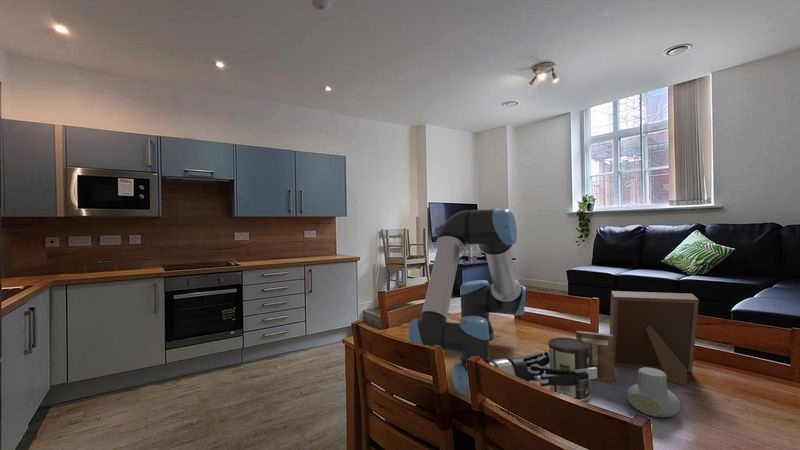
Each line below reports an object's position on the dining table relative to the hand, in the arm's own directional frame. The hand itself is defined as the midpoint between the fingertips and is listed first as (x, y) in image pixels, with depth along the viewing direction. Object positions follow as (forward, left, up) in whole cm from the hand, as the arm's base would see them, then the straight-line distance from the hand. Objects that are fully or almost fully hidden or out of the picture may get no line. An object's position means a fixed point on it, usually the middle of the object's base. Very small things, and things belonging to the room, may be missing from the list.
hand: (582, 364), depth 100 cm
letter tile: (-7, +10, -8) cm, 14 cm away
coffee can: (0, -4, -8) cm, 9 cm away
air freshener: (+13, +10, -8) cm, 18 cm away
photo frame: (-5, +29, -8) cm, 30 cm away
